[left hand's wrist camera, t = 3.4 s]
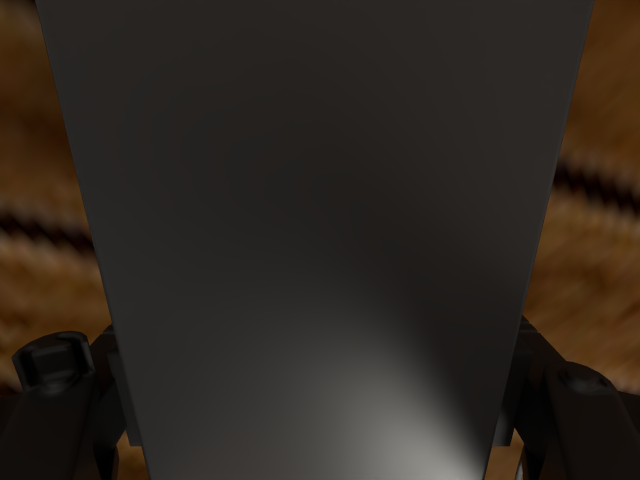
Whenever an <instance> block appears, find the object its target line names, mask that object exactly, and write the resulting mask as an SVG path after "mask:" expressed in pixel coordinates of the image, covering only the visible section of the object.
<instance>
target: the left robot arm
mask: <svg viewBox="0 0 640 480" xmlns="http://www.w3.org/2000/svg"><path fill="white" fill-rule="evenodd" d="M12 361H13V363H14V366H15V369H16V371H17V374H18V377H19V380H20V382H21V385H22V388H23V392H22V393H19V394H14V395H9V396H5V397H0V480H117V474H118V466H119V454H118V449H117V446H116V444H117V442H118V441H119V439H120V437H121V436H122V434H123V432H124V431H125V429H126V432H127V435H128V439H129V443H130V446H141V442H140V437H139V433H138V429H137V425H136V421H135V417H134V412H133V408H132V404H131V400H130V396H129V391H128V387H127V383H126V379H125V375H124V370H123V366H122V362H121V358H120V354H119V350H118V345H117V341H116V337H115V333H114V329H113V324H112V323H111V325H109V326H108V327H107V328H106V329H105V330H104V331H103V334H101V335H100V336H99V337H98V338H97V339H96V340H95V341H94V342H93V343H92V344H91V345H90V346H89V343H88V339H87V336H86V335H84V334H83V333H81V332H76V331H65V332H57V333H53V334H50V335H46V336H43V337H41V338H38V339H36V340H34V341H32V342H30V343H28V344H26V345H25V346H23V347H22V348H20V349H19V350H18V351H17V352H16V353H15V354H14V355H13V356H12ZM514 428H515V429H516V430H517V432H518V434H519V435H520V437H521V439H522V440H523V442H524V446H523V449H522V453H521V457H520V460H519V464H518V468H517V471H516V476H515V480H521V478H522V475H523V480H640V396H638V395H634V394H629V393H624V392H620V391H617V389H616V388H615V387H614V385H613V384H612V383H611V381H610V380H608V379H607V378H606V377H604V376H603V375H602V374H600V373H599V372H597V371H595V370H593V369H591V368H589V367H587V366H584V365H581V364H578V363H574V362H569V361H566V360H565V359H564V358H563V357H562V356H561V355H560V354H559V353H558V352H557V351H556V350H555V349H554V348H553V347H552V346H551V345H550V344H549V342H548V341H547V340H546V339H545V338H544V337H543V336H542V335H541V334H540V333H538V332H537V330H536V329H535V328H534V327H533V326H532V324H529V321H528V320H527V319H526V318H525V317H524V316H523V315H522V318H521V322H520V326H519V331H518V335H517V339H516V344H515V348H514V352H513V357H512V361H511V365H510V370H509V374H508V378H507V383H506V387H505V391H504V396H503V400H502V404H501V409H500V413H499V417H498V422H497V426H496V431H495V435H494V439H493V444H492V446H510V443H511V439H512V435H513V432H514Z"/></svg>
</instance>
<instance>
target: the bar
mask: <svg viewBox="0 0 640 480" xmlns="http://www.w3.org/2000/svg"><path fill="white" fill-rule="evenodd" d="M594 1H595V0H35V2H36V6H37V11H38V15H39V19H40V23H41V27H42V32H43V36H44V40H45V44H46V48H47V52H48V57H49V61H50V65H51V69H52V73H53V78H54V82H55V86H56V90H57V94H58V99H59V103H60V107H61V111H62V115H63V119H64V124H65V128H66V132H67V136H68V140H69V145H70V149H71V153H72V157H73V161H74V165H75V170H76V174H77V178H78V182H79V186H80V191H81V195H82V199H83V203H84V207H85V211H86V216H87V220H88V224H89V228H90V232H91V237H92V241H93V245H94V249H95V253H96V258H97V262H98V266H99V270H100V274H101V278H102V283H103V287H104V291H105V295H106V299H107V304H108V308H109V312H110V316H111V320H112V324H113V329H114V333H115V337H116V341H117V345H118V350H119V354H120V358H121V362H122V366H123V370H124V375H125V379H126V383H127V387H128V391H129V396H130V400H131V404H132V408H133V412H134V417H135V421H136V425H137V429H138V433H139V437H140V442H141V446H142V450H143V454H144V458H145V463H146V467H147V471H148V475H149V479H150V480H484V478H485V474H486V470H487V465H488V461H489V457H490V452H491V448H492V444H493V439H494V435H495V431H496V426H497V422H498V417H499V413H500V409H501V404H502V400H503V396H504V391H505V387H506V383H507V378H508V374H509V370H510V365H511V361H512V357H513V352H514V348H515V344H516V339H517V335H518V331H519V326H520V322H521V318H522V313H523V309H524V305H525V300H526V296H527V292H528V287H529V283H530V279H531V274H532V270H533V265H534V261H535V257H536V252H537V248H538V244H539V239H540V235H541V231H542V226H543V222H544V218H545V213H546V209H547V205H548V200H549V196H550V192H551V187H552V183H553V179H554V174H555V170H556V166H557V161H558V157H559V153H560V148H561V144H562V140H563V135H564V131H565V126H566V122H567V118H568V113H569V109H570V105H571V100H572V96H573V92H574V87H575V83H576V79H577V74H578V70H579V66H580V61H581V57H582V53H583V48H584V44H585V40H586V35H587V31H588V27H589V22H590V18H591V14H592V9H593V5H594Z"/></svg>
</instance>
